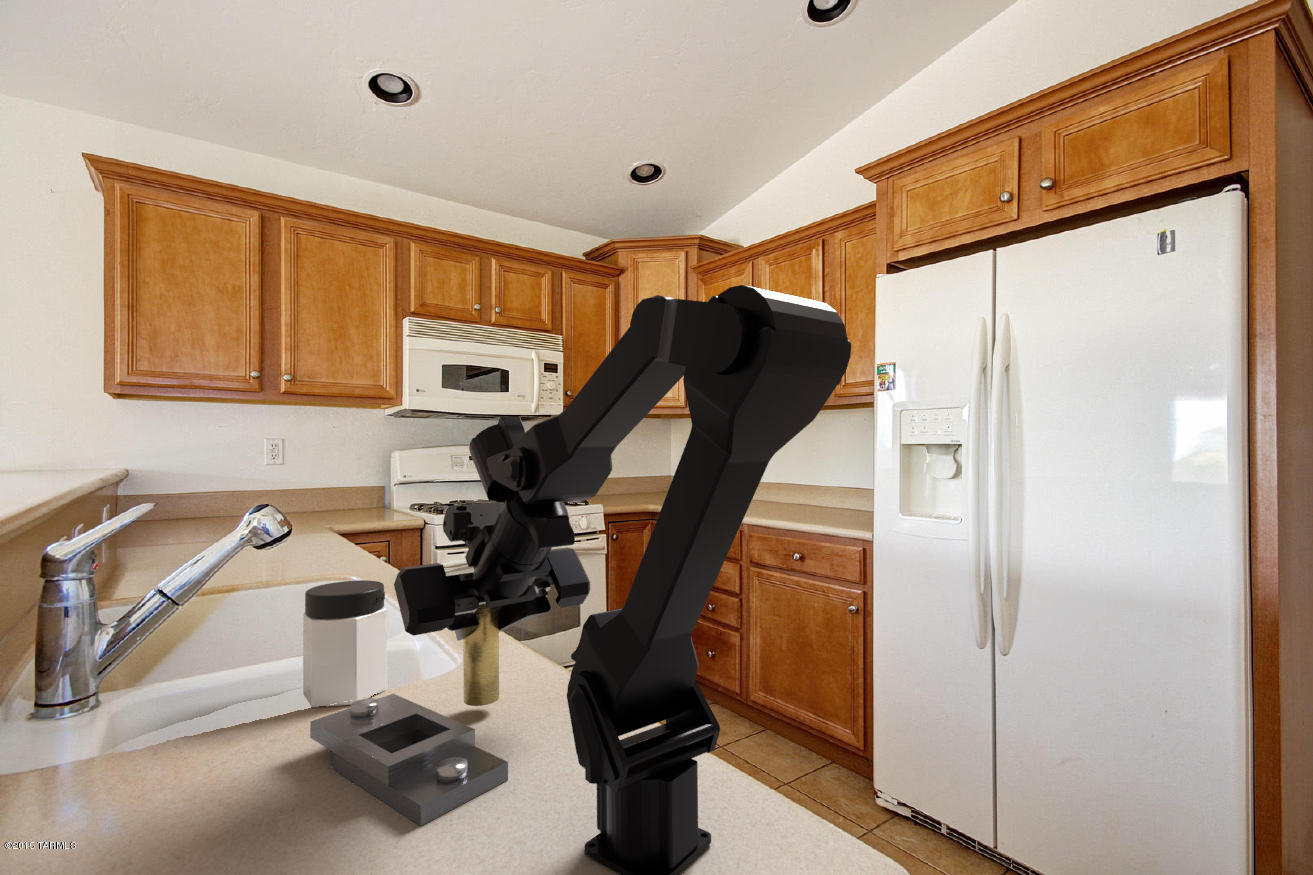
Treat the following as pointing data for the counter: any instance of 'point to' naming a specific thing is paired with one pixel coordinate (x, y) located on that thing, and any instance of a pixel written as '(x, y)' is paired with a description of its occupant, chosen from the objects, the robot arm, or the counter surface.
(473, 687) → the pin
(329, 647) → the jar
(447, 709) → the counter surface
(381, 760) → the grey clamp plate
